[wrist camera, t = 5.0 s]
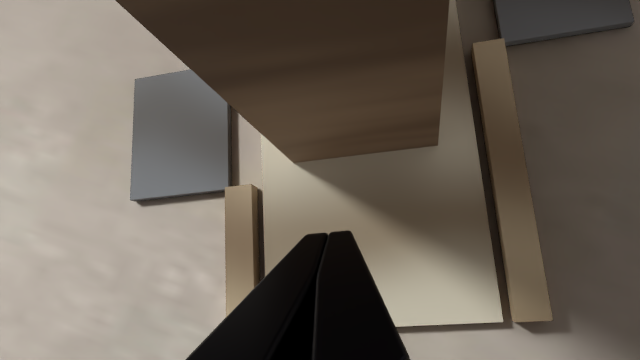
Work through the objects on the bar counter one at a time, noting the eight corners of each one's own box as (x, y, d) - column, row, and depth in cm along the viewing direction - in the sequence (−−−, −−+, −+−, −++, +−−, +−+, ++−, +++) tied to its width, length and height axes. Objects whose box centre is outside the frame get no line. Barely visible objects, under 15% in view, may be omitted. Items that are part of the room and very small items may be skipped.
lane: (701, 312, 13) (780, 320, 10) (129, 337, 16) (67, 348, 14) (562, -245, 18) (589, -346, 15) (147, -130, 21) (104, -194, 19)
